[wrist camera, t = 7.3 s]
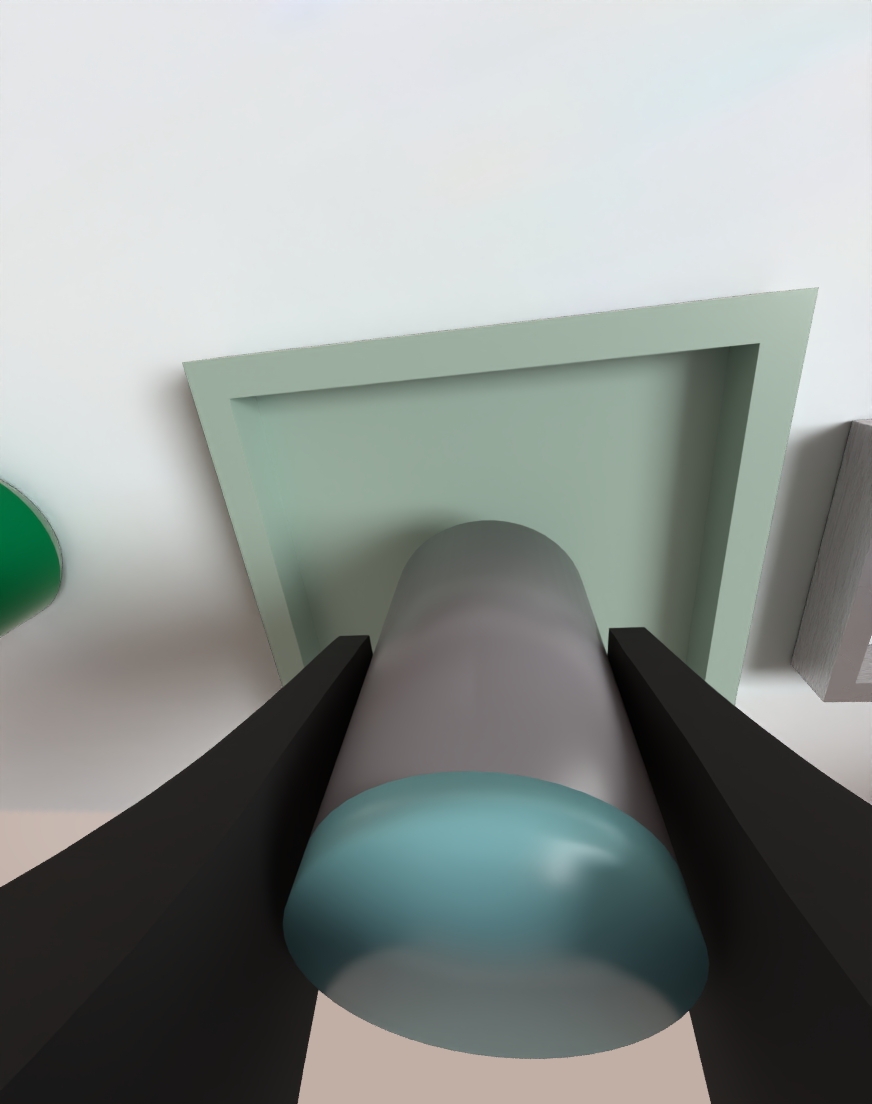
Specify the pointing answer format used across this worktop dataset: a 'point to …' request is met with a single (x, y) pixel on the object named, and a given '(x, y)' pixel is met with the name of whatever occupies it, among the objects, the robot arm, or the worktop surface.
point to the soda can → (25, 560)
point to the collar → (842, 586)
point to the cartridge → (495, 823)
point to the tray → (517, 464)
